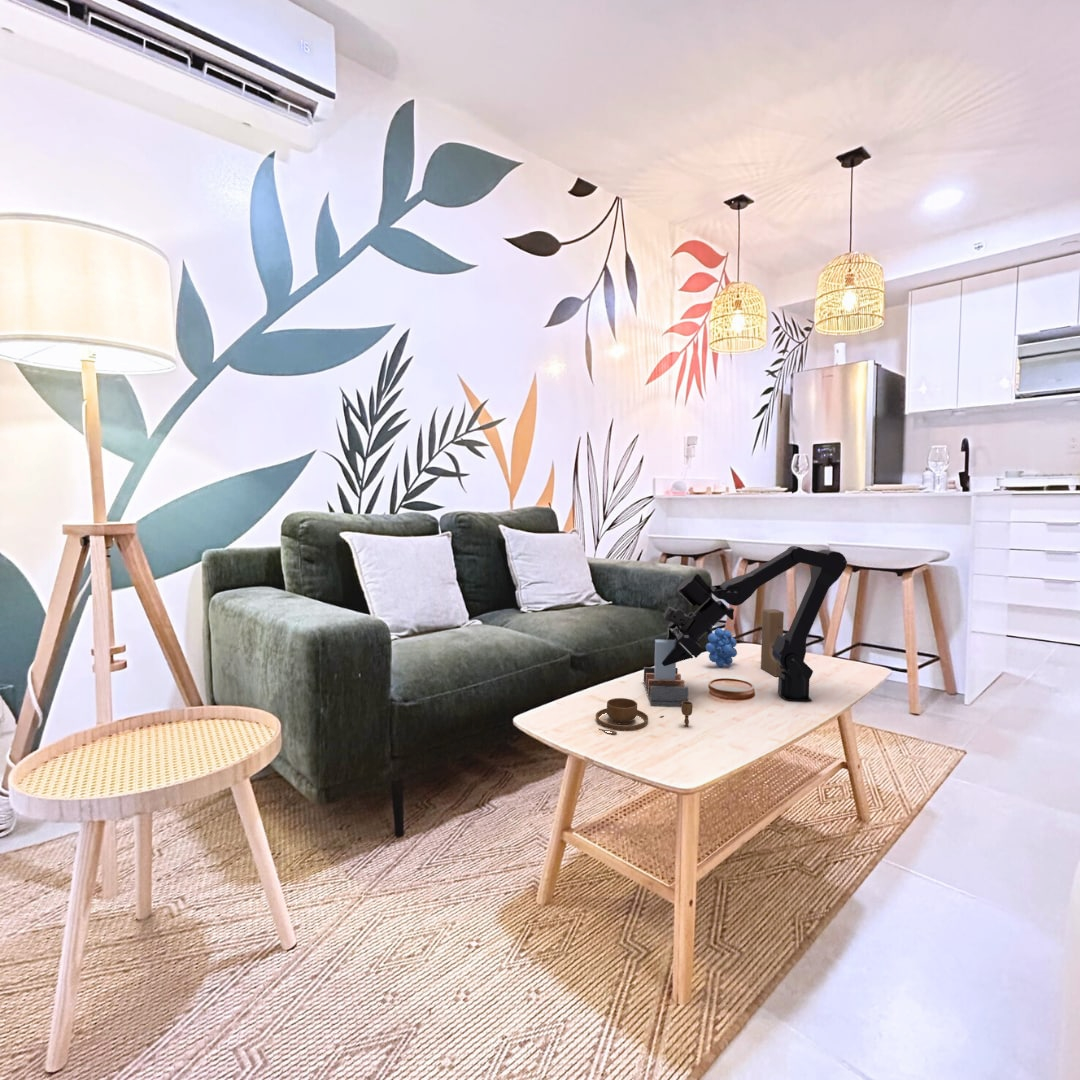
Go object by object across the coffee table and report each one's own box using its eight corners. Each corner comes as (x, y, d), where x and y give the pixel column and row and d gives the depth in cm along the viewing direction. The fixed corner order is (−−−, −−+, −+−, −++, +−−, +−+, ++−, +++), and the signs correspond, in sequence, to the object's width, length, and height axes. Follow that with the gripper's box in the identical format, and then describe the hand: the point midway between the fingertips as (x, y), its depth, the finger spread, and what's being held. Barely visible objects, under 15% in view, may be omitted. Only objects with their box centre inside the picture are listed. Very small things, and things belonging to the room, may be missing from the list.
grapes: (715, 673, 177) (717, 632, 176) (700, 667, 183) (701, 627, 182) (746, 668, 182) (747, 628, 181) (730, 662, 188) (731, 624, 187)
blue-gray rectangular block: (673, 688, 159) (674, 639, 158) (675, 692, 156) (676, 642, 155) (654, 688, 159) (655, 639, 158) (655, 691, 156) (656, 642, 155)
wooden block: (790, 676, 173) (792, 614, 172) (775, 677, 172) (777, 615, 171) (774, 667, 182) (776, 608, 181) (760, 668, 181) (762, 609, 180)
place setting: (621, 707, 149) (622, 683, 149) (696, 727, 136) (696, 702, 136) (578, 727, 136) (578, 701, 136) (656, 752, 123) (656, 724, 123)
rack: (676, 683, 167) (676, 667, 166) (688, 707, 148) (688, 689, 148) (643, 682, 167) (643, 666, 167) (651, 706, 149) (651, 688, 148)
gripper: (677, 590, 165) (635, 629, 166) (689, 602, 146) (642, 646, 148) (705, 619, 165) (664, 658, 166) (721, 635, 146) (674, 679, 148)
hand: (660, 659), depth 157 cm, fingers open, 9 cm apart
